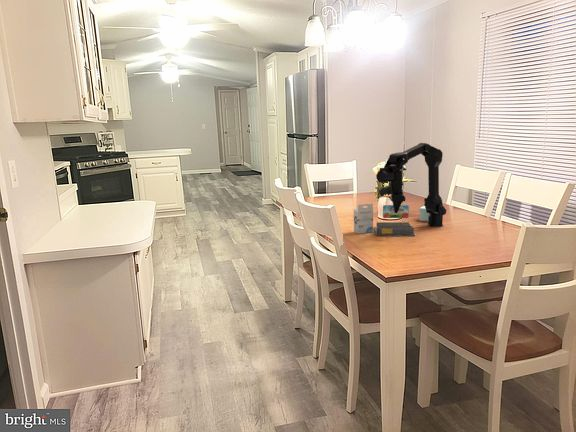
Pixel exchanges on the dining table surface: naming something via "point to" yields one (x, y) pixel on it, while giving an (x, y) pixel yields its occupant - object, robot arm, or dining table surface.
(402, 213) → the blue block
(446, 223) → the dining table surface
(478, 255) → the dining table surface
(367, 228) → the ink box
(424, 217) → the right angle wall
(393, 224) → the rack
